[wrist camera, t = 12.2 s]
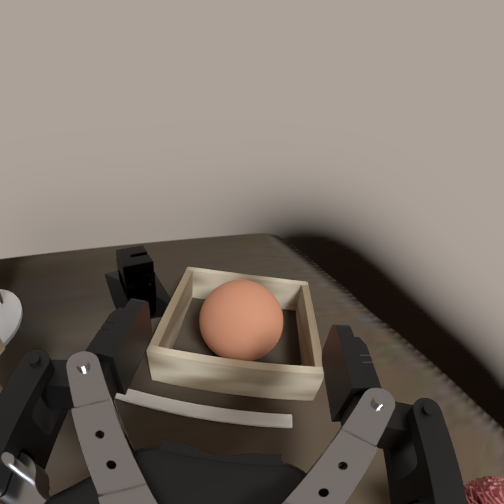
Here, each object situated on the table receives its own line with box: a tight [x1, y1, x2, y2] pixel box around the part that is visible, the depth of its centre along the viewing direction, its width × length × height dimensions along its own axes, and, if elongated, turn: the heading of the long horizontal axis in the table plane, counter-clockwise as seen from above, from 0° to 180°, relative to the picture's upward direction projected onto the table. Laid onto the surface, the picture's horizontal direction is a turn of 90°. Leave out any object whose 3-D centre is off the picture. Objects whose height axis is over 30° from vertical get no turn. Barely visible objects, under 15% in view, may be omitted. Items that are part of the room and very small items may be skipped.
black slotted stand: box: [105, 246, 171, 319], centre depth 26 cm, size 12×7×5 cm, turn 34°
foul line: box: [115, 389, 292, 428], centre depth 16 cm, size 18×1×1 cm, turn 87°
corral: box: [146, 267, 324, 401], centre depth 22 cm, size 11×11×3 cm
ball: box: [199, 280, 283, 361], centre depth 20 cm, size 6×6×6 cm
